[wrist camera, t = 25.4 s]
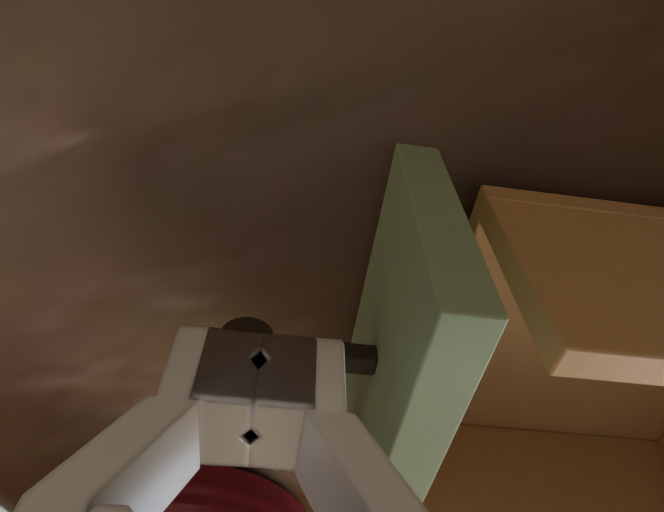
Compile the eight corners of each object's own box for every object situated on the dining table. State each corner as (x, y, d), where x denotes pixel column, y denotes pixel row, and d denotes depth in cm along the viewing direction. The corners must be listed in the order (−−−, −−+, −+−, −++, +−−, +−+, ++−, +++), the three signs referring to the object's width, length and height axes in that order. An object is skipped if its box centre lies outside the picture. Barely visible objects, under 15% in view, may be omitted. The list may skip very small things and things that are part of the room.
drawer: (234, 405, 20) (199, 597, 15) (245, 122, 13) (186, 285, 8) (643, 439, 22) (749, 625, 16) (844, 200, 15) (1147, 384, 9)
